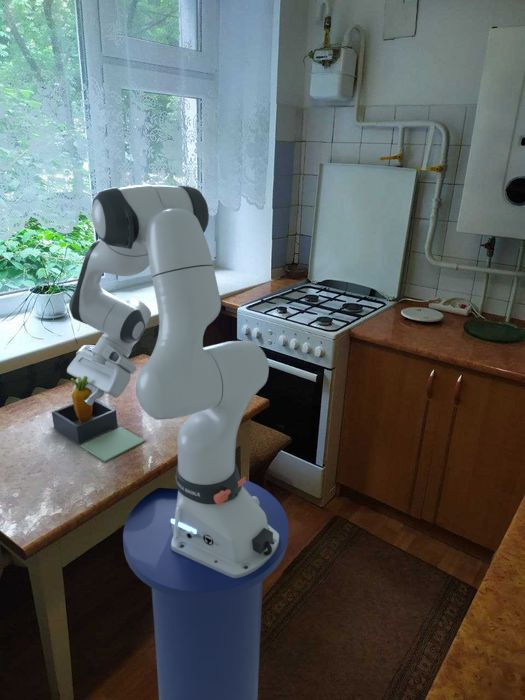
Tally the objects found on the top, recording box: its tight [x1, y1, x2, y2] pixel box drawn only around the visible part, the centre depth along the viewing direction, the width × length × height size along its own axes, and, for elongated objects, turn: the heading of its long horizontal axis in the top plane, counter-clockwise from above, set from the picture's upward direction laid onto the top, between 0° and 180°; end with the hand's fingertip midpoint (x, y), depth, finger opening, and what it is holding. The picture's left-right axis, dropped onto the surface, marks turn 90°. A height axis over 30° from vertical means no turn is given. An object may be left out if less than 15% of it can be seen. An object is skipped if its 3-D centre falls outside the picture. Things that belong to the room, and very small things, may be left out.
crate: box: [51, 399, 118, 445], centre depth 131 cm, size 12×12×5 cm
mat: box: [80, 426, 146, 463], centre depth 125 cm, size 10×12×1 cm
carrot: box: [70, 376, 93, 424], centre depth 129 cm, size 5×5×15 cm
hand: (80, 400), depth 128 cm, fingers closed on carrot, 4 cm apart
